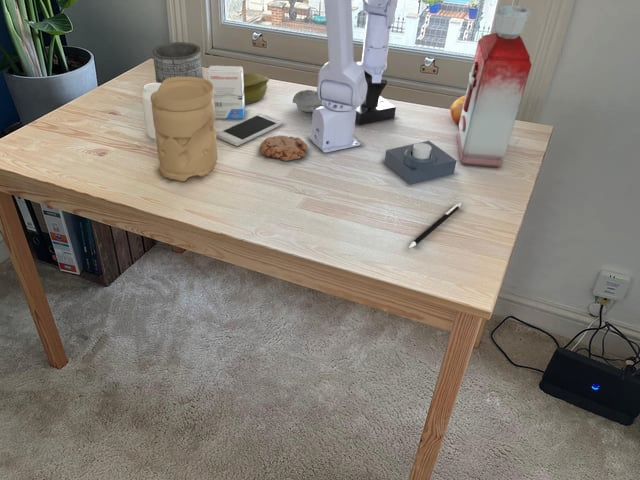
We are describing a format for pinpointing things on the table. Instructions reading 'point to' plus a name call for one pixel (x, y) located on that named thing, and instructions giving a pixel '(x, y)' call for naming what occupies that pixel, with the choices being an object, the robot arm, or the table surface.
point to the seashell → (307, 100)
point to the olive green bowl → (254, 87)
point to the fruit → (457, 109)
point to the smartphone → (248, 129)
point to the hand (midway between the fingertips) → (369, 101)
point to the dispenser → (419, 163)
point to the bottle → (494, 90)
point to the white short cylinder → (421, 151)
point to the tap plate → (375, 112)
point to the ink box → (227, 91)
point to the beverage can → (149, 107)
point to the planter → (177, 61)
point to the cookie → (283, 147)
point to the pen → (435, 225)
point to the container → (185, 127)
